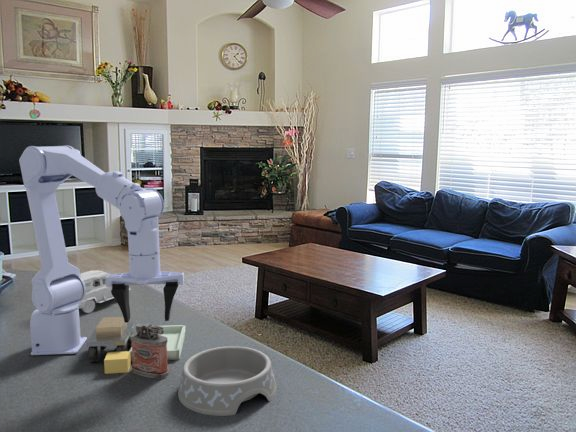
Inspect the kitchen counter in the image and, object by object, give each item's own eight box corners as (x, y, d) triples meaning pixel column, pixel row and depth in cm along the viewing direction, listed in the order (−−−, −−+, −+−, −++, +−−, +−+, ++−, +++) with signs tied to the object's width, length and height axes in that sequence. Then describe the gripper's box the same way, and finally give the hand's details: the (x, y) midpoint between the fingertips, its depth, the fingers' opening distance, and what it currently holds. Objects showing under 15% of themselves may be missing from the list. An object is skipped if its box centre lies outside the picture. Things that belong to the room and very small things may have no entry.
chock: (104, 374, 99) (104, 360, 98) (108, 366, 102) (107, 352, 102) (128, 373, 99) (127, 358, 99) (130, 364, 103) (130, 351, 102)
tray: (129, 361, 104) (128, 352, 103) (141, 334, 118) (141, 326, 117) (179, 359, 105) (179, 350, 104) (185, 332, 119) (185, 324, 118)
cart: (87, 365, 102) (85, 333, 101) (101, 343, 113) (99, 314, 112) (125, 363, 103) (123, 332, 102) (135, 341, 114) (134, 313, 113)
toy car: (136, 297, 145) (134, 264, 143) (77, 319, 127) (75, 281, 126) (111, 292, 150) (109, 259, 148) (51, 312, 132) (48, 276, 131)
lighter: (128, 372, 99) (125, 324, 97) (139, 365, 102) (137, 318, 100) (162, 380, 96) (160, 330, 94) (172, 372, 99) (170, 324, 97)
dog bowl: (162, 386, 94) (161, 359, 93) (245, 360, 105) (244, 336, 104) (205, 428, 81) (205, 397, 80) (295, 393, 92) (295, 366, 91)
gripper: (99, 258, 91) (104, 329, 94) (180, 256, 93) (183, 326, 95) (109, 249, 98) (113, 315, 101) (184, 248, 100) (186, 313, 102)
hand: (147, 320), depth 98 cm, fingers open, 7 cm apart
